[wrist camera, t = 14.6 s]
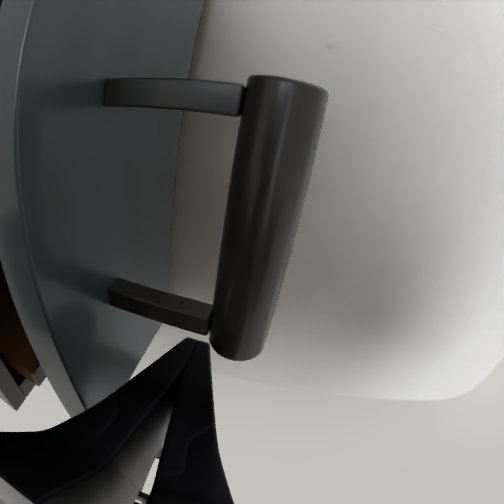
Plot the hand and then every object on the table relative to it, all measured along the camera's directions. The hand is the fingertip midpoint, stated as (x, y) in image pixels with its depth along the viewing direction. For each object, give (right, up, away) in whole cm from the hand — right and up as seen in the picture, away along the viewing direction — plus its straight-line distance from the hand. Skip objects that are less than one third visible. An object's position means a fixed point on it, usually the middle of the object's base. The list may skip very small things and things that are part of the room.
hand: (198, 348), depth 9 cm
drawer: (-5, +7, +1) cm, 9 cm away
